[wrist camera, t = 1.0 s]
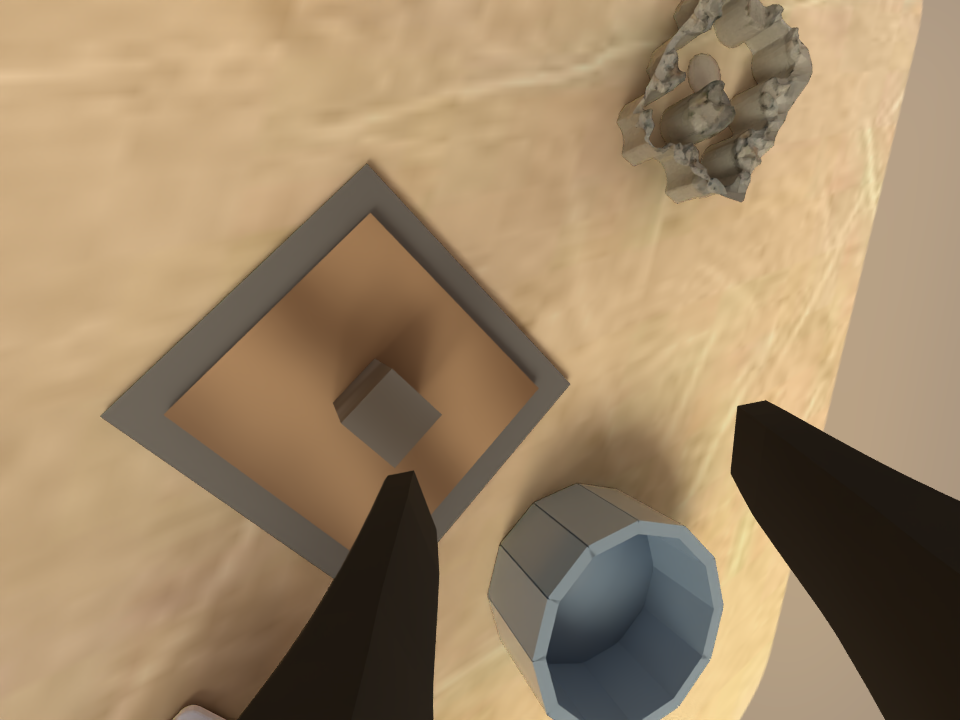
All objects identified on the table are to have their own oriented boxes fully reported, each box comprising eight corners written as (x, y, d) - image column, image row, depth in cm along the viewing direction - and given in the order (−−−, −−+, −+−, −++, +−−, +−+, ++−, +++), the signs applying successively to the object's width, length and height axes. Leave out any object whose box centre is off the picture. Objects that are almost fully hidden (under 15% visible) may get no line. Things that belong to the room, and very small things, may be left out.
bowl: (574, 695, 27) (632, 775, 22) (451, 603, 24) (489, 674, 19) (678, 551, 29) (752, 597, 24) (577, 448, 26) (639, 478, 21)
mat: (378, 606, 23) (380, 611, 22) (104, 414, 18) (100, 416, 18) (566, 382, 25) (570, 384, 25) (365, 166, 21) (366, 163, 20)
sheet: (379, 566, 22) (398, 628, 18) (167, 411, 18) (128, 441, 14) (533, 386, 24) (584, 402, 20) (368, 215, 20) (387, 189, 16)
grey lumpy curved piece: (689, -23, 26) (757, -82, 22) (769, 78, 28) (843, 41, 25) (592, 135, 25) (647, 101, 21) (686, 226, 27) (749, 211, 23)
